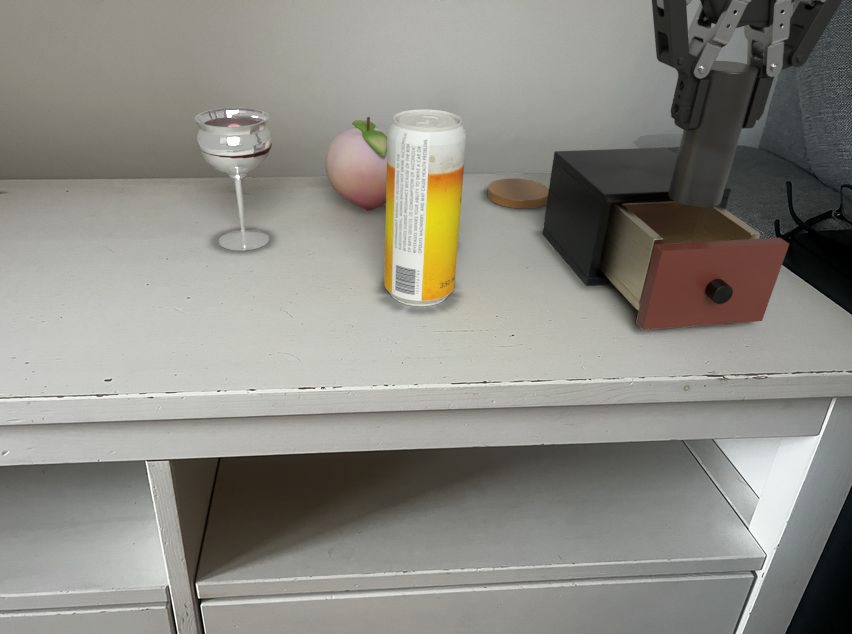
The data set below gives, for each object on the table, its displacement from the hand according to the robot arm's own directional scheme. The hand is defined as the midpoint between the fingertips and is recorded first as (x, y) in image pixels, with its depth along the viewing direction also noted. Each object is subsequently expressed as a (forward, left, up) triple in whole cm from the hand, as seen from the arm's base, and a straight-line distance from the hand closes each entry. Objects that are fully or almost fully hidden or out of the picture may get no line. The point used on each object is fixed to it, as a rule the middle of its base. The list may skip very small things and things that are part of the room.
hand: (713, 125), depth 54 cm
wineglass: (+36, -17, -15) cm, 43 cm away
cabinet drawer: (0, +1, -14) cm, 14 cm away
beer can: (+21, -4, -15) cm, 26 cm away
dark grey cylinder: (0, 0, -6) cm, 6 cm away
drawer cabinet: (0, -9, -15) cm, 18 cm away
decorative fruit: (+23, -23, -15) cm, 36 cm away
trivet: (+5, -25, -15) cm, 30 cm away
